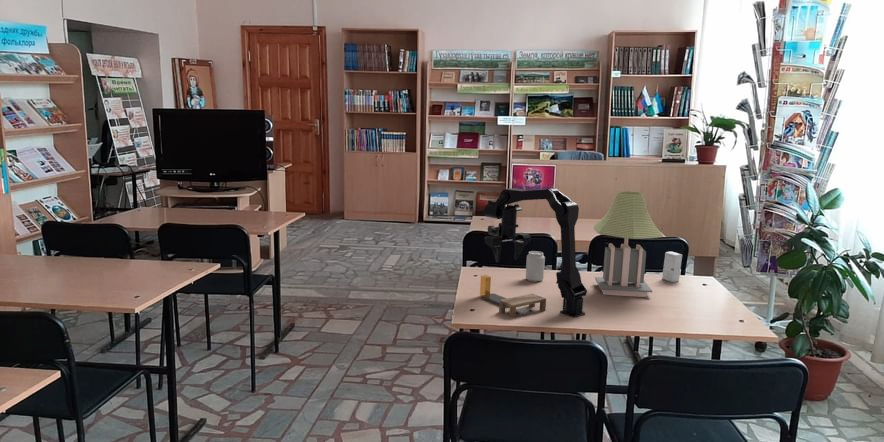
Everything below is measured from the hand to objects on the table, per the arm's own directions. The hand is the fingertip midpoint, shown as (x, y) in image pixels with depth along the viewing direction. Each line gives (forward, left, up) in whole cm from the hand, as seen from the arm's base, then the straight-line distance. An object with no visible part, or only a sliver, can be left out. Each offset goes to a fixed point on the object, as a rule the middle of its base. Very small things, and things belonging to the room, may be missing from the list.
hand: (506, 261), depth 246 cm
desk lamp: (-20, -46, -14) cm, 52 cm away
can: (+10, -26, -14) cm, 31 cm away
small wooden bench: (-19, +8, -13) cm, 25 cm away
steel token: (-20, +8, -14) cm, 26 cm away
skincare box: (-20, -79, -14) cm, 82 cm away
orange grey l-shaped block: (-5, +8, -13) cm, 17 cm away
